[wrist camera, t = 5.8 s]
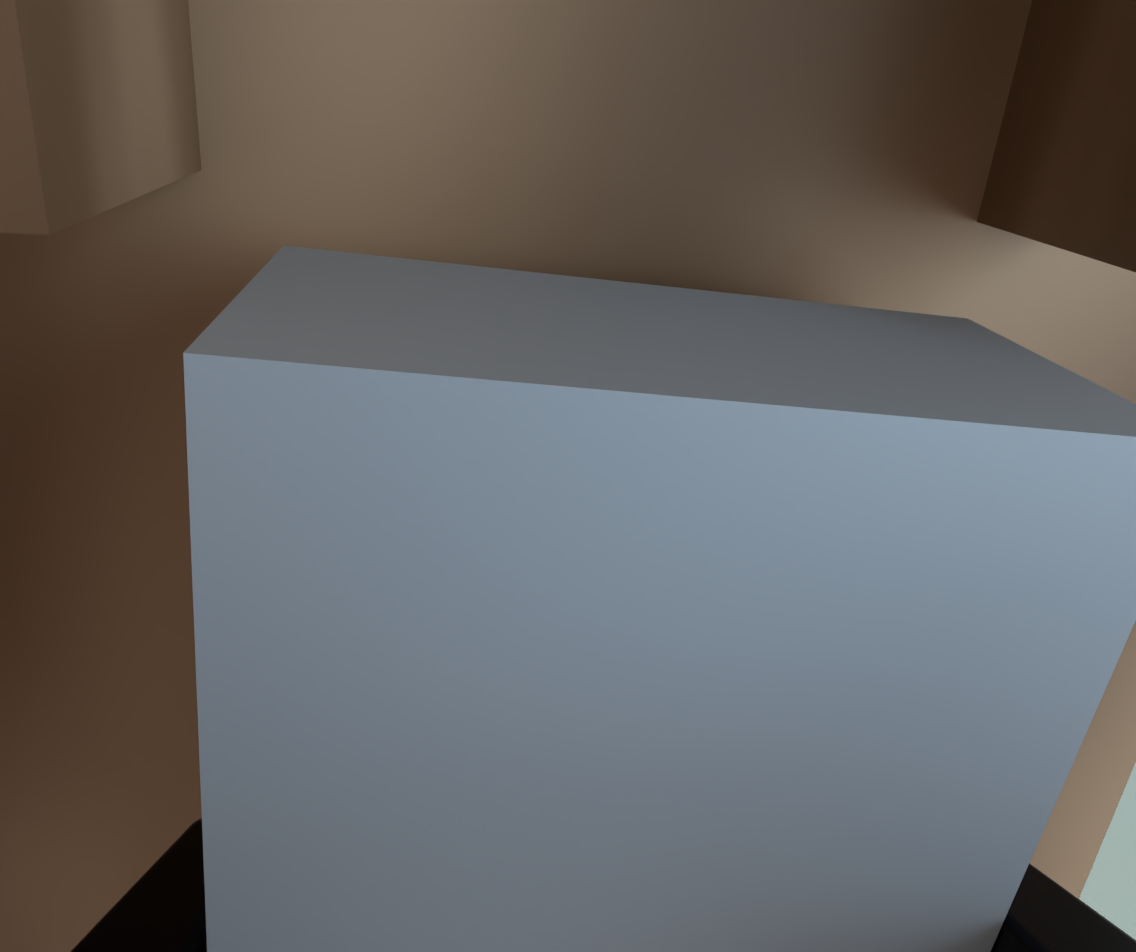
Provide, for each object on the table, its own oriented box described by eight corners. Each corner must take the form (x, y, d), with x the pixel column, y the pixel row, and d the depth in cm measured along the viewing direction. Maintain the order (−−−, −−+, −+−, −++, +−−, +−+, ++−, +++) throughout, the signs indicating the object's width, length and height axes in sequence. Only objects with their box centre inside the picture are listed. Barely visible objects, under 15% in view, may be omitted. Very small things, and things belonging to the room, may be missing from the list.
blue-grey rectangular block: (280, 1059, 11) (223, 1373, 9) (283, 245, 7) (184, 353, 5) (743, 1049, 12) (824, 1330, 10) (968, 317, 8) (1212, 443, 6)
